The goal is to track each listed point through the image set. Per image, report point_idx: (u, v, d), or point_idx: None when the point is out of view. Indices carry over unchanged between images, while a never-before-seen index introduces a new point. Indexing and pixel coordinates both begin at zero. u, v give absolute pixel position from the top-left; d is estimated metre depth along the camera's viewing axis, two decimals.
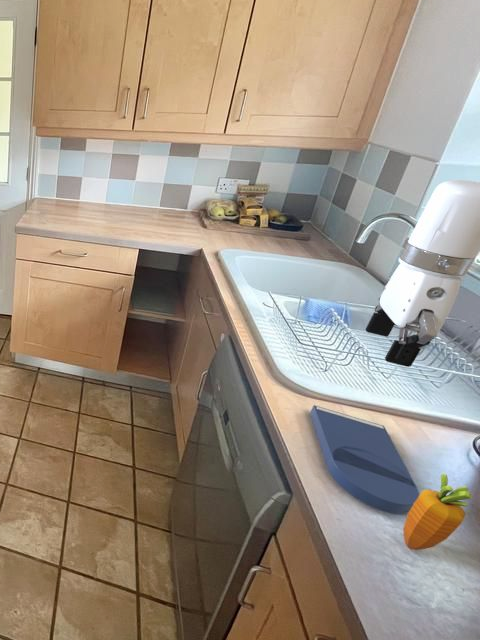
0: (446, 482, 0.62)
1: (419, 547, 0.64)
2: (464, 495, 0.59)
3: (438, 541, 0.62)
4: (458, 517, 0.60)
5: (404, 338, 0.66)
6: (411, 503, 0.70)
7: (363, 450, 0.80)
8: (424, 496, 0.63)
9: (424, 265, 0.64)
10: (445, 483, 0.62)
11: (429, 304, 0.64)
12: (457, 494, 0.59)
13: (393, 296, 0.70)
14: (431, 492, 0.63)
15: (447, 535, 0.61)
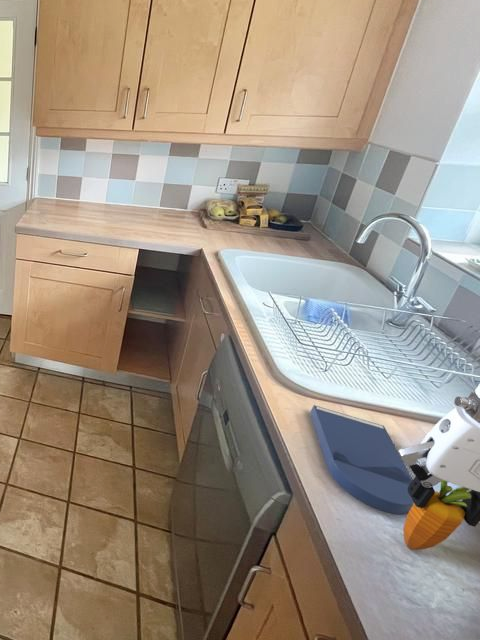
0: (446, 482, 0.62)
1: (419, 547, 0.64)
2: (464, 495, 0.59)
3: (438, 541, 0.62)
4: (458, 517, 0.60)
5: None
6: (411, 503, 0.70)
7: (363, 450, 0.80)
8: None
9: None
10: (445, 483, 0.62)
11: (436, 434, 0.59)
12: (457, 494, 0.59)
13: None
14: None
15: (447, 535, 0.61)
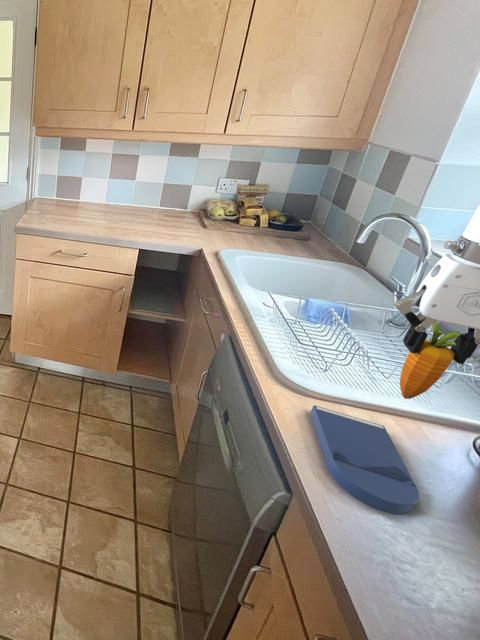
0: (437, 329, 0.68)
1: (414, 393, 0.71)
2: (453, 334, 0.66)
3: (431, 383, 0.69)
4: (448, 356, 0.67)
5: None
6: (411, 503, 0.70)
7: (363, 450, 0.80)
8: None
9: None
10: (436, 330, 0.68)
11: (428, 280, 0.66)
12: (447, 335, 0.66)
13: None
14: None
15: (439, 376, 0.68)
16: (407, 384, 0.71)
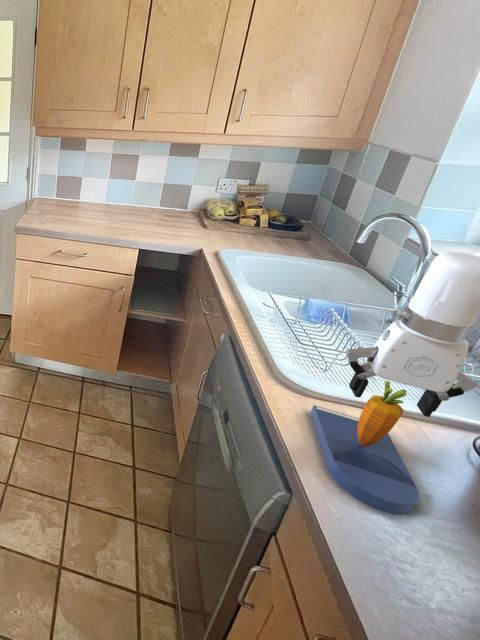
0: (388, 387, 0.77)
1: (369, 442, 0.79)
2: (400, 393, 0.74)
3: (383, 434, 0.77)
4: (397, 412, 0.75)
5: None
6: (411, 503, 0.70)
7: (363, 450, 0.80)
8: (371, 399, 0.78)
9: None
10: (388, 387, 0.77)
11: (380, 342, 0.74)
12: (396, 393, 0.75)
13: None
14: (377, 396, 0.78)
15: (389, 429, 0.76)
16: (363, 434, 0.80)
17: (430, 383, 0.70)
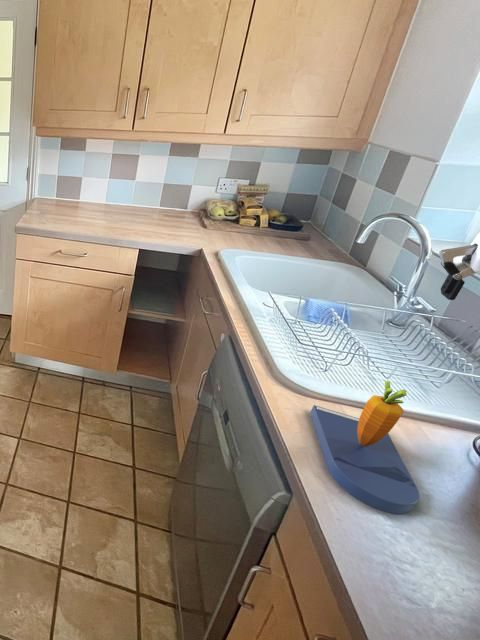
0: (389, 387, 0.77)
1: (369, 442, 0.79)
2: (401, 393, 0.74)
3: (383, 434, 0.77)
4: (397, 412, 0.75)
5: None
6: (411, 503, 0.70)
7: (363, 450, 0.80)
8: (372, 399, 0.78)
9: None
10: (388, 387, 0.77)
11: (479, 239, 0.72)
12: (396, 394, 0.75)
13: None
14: (377, 396, 0.78)
15: (389, 429, 0.76)
16: (363, 434, 0.80)
17: None
